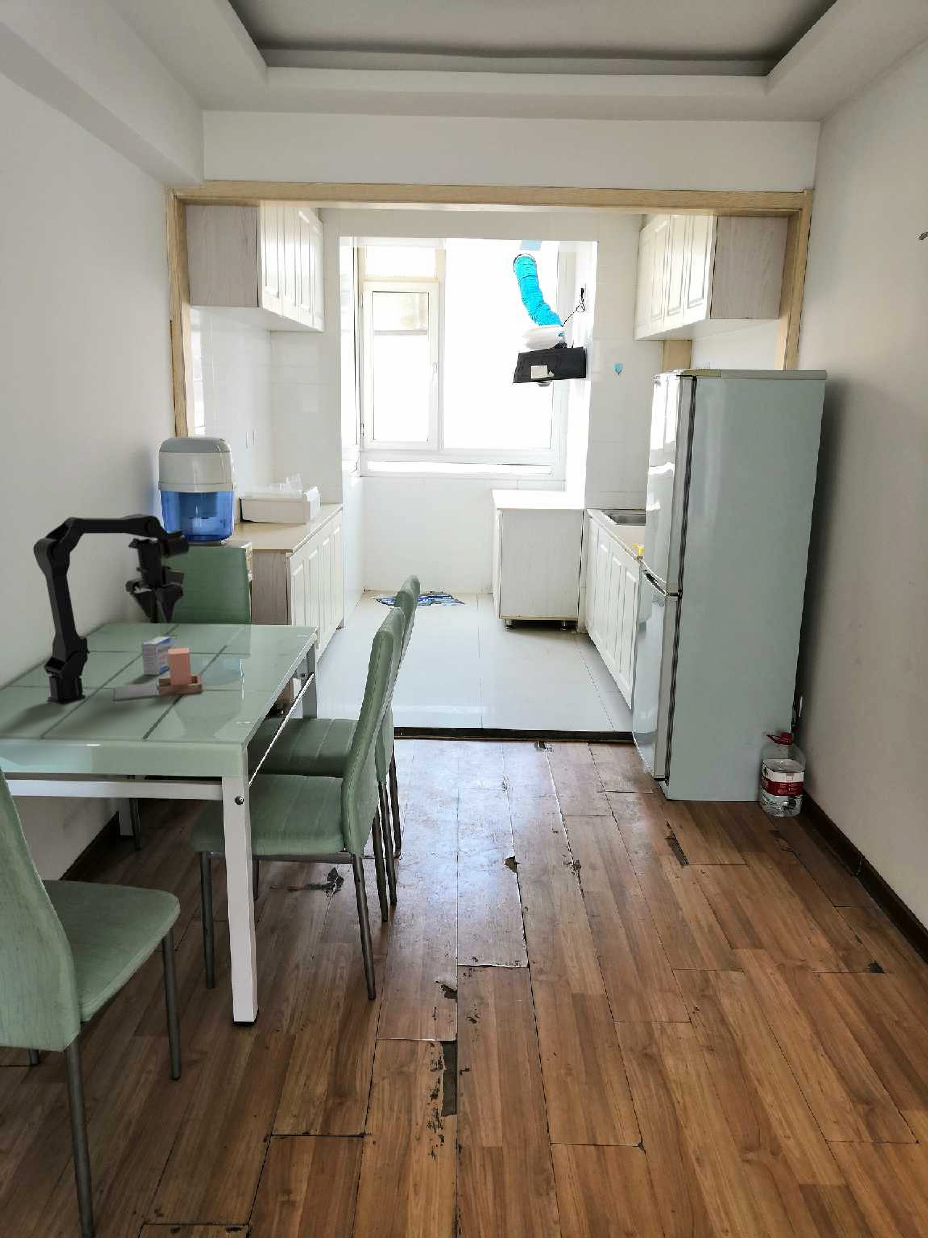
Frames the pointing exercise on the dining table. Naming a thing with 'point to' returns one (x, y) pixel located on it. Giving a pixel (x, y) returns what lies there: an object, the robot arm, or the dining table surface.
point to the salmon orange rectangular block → (179, 666)
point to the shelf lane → (180, 686)
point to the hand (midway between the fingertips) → (158, 620)
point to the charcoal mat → (135, 691)
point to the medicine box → (156, 655)
